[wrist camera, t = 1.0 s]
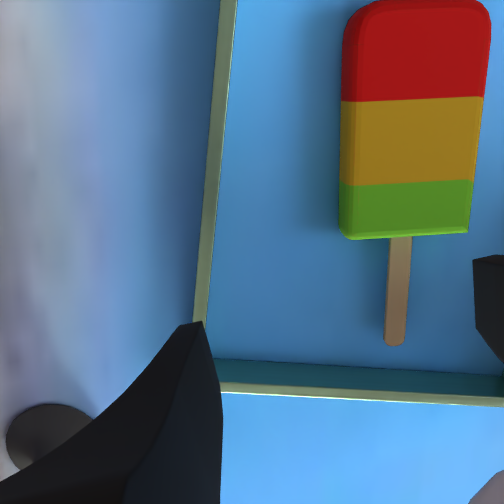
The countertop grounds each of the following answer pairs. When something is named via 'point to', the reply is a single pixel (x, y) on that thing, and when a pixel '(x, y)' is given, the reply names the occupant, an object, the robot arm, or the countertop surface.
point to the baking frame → (308, 375)
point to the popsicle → (410, 128)
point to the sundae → (42, 432)
